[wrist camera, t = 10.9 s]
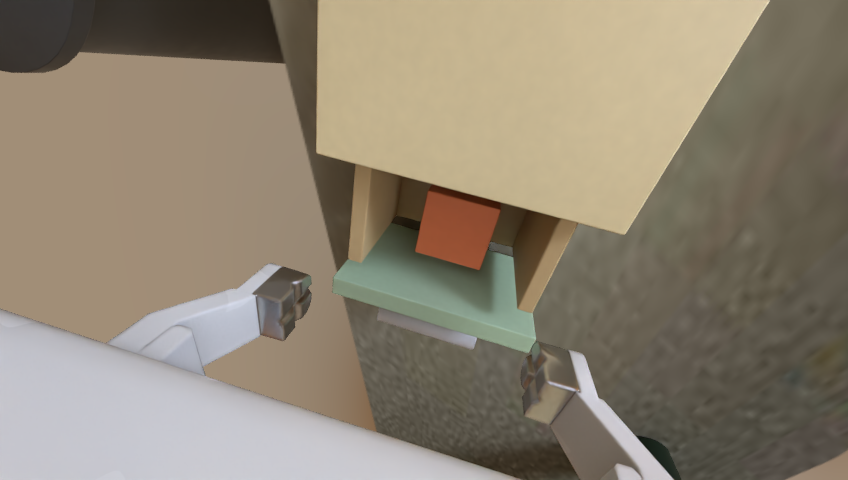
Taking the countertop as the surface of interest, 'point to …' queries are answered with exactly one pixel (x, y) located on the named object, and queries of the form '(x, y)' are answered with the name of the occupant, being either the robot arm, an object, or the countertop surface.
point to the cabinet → (523, 94)
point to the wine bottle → (661, 456)
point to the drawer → (446, 267)
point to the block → (457, 226)
